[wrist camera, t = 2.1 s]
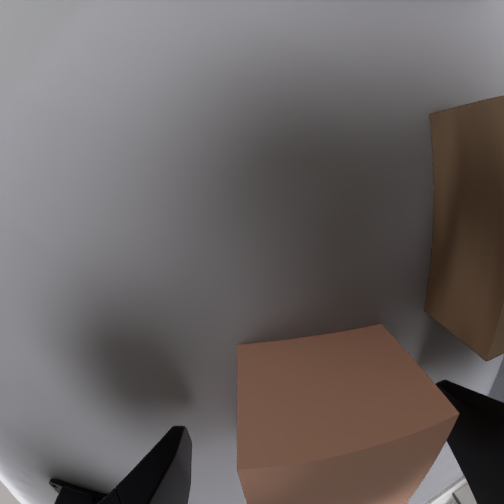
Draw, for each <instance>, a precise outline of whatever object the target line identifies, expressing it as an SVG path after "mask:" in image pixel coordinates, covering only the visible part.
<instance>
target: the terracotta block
mask: <svg viewBox="0 0 504 504" xmlns="http://www.w3.org/2000/svg"><path fill="white" fill-rule="evenodd" d="M459 414H460V413H459V412H458V411H457V410H456V409H455V407H454V406H453V405H452V404H451V402H450V401H449V400H448V399H447V398H446V396H445V395H444V394H443V393H442V392H441V391H440V389H439V388H438V387H437V386H436V385H435V383H434V382H433V381H432V380H431V379H430V378H429V376H428V375H427V374H426V373H425V372H424V371H423V370H422V368H421V367H420V366H419V365H418V364H417V363H416V362H415V360H414V359H413V358H412V357H411V356H410V355H409V354H408V353H407V351H406V350H405V349H404V348H403V347H402V346H401V345H400V344H399V342H398V341H397V340H396V339H395V338H394V337H393V336H392V335H391V334H390V333H389V331H388V330H387V329H386V328H385V327H384V326H383V325H382V324H378V325H373V326H368V327H363V328H358V329H352V330H346V331H341V332H335V333H329V334H322V335H316V336H309V337H302V338H295V339H287V340H279V341H270V342H261V343H251V344H240V345H238V367H237V471H238V475H239V478H240V482H241V485H242V489H243V492H244V495H245V499H246V502H247V504H406V503H407V502H408V501H409V499H410V498H411V497H412V495H413V494H414V492H415V491H416V490H417V488H418V487H419V485H420V484H421V482H422V481H423V479H424V478H425V476H426V474H427V473H428V471H429V470H430V468H431V466H432V465H433V463H434V461H435V460H436V458H437V456H438V455H439V453H440V451H441V449H442V447H443V446H444V444H445V442H446V440H447V438H448V436H449V434H450V432H451V430H452V428H453V426H454V424H455V422H456V420H457V418H458V416H459Z"/></svg>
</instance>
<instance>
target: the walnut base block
mask: <svg viewBox="0 0 504 504" xmlns="http://www.w3.org/2000/svg"><path fill="white" fill-rule="evenodd" d="M429 118H430V127H431V138H432V151H433V170H434V219H433V238H432V252H431V262H430V271H429V280H428V287H427V294H426V301H425V307H424V311H425V312H426V313H427V314H429V315H430V316H431V317H432V318H434V319H435V320H436V321H437V322H439V323H440V324H441V325H442V326H444V327H445V328H446V329H447V330H449V331H450V332H451V333H452V334H454V335H455V336H456V337H457V338H458V339H460V340H461V341H462V342H463V343H464V344H466V345H467V346H468V347H469V348H470V349H472V350H473V351H474V352H475V353H476V354H478V355H479V356H480V357H481V358H482V359H483V360H485V361H489V360H491V359H493V358H495V357H497V356H499V355H502V354H504V96H500V97H495V98H491V99H486V100H482V101H478V102H474V103H470V104H466V105H462V106H458V107H455V108H451V109H447V110H444V111H440V112H437V113H433V114H430V115H429Z"/></svg>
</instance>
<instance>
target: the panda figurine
mask: <svg viewBox="0 0 504 504" xmlns="http://www.w3.org/2000/svg"><path fill="white" fill-rule="evenodd" d="M427 504H477V502H476V500H475V498H474V496H473V493H472V491H471V489H470V487H469V485H468V483H467V480H466V478H465V476H464V477H462V478H461V479H459V480H458V481H456V482H455V483H454V484H452V485H451V486H449V487H448V488H447V489H445V490H444V491H442V492H441V493H440V494H438V495H437V496H436V497H434V498H433V499H432V500H430V501H429V502H428V503H427Z"/></svg>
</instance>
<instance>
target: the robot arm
mask: <svg viewBox="0 0 504 504" xmlns="http://www.w3.org/2000/svg"><path fill="white" fill-rule="evenodd" d="M435 385H436V386H437V387H438V388H439V389H440V391H441V392H442V393H443V394H444V395H445V396H446V398H447V399H448V400H449V401H450V402H451V404H452V405H453V406H454V407H455V409H456V410H457V411H458V412H459V413H460V414H459V416H458V418H457V420H456V422H455V424H454V426H453V428H452V430H451V432H450V434H449V436H448V438H447V442H448V444H449V446H450V448H451V450H452V452H453V454H454V456H455V458H456V460H457V462H458V464H459V466H460V468H461V470H462V472H463V474H464V476H465V478H466V480H467V483H468V485H469V487H470V489H471V491H472V493H473V496H474V498H475V500H476V502H477V504H504V402H501V401H498V400H496V399H493V398H490V397H488V396H485V395H483V394H480V393H477V392H475V391H472V390H470V389H467V388H465V387H462V386H460V385H457V384H455V383H452V382H450V381H447V380H442V381H440V382H437V383H436V384H435ZM191 460H192V442H191V439H190V436H189V433H188V431H187V428H186V427H185V426H173V427H172V428H171V429H170V430H169V431H168V432H167V433H166V434H165V436H164V437H163V438H162V439H161V440H160V441H159V442H158V443H157V444H156V445H155V446H154V448H153V449H152V450H151V451H150V452H149V453H148V454H147V455H146V456H145V457H144V458H143V459H142V460H141V461H140V462H139V464H138V465H137V466H136V467H135V468H134V469H133V470H132V471H131V472H130V473H129V474H128V475H127V476H126V477H125V478H124V479H123V480H122V481H121V482H120V483H119V484H118V485H117V486H116V488H114V489H113V490H112V491H111V492H110V493H109V494H108V495H103V494H99V493H95V492H91V491H88V490H84V489H81V488H78V487H75V486H71V485H68V484H65V483H63V482H60V481H57V480H54V479H50V481H49V484H50V485H51V486H52V487H53V488H54V489H55V490H56V491H57V492H58V493H59V494H58V496H57V499H56V501H55V503H54V504H188V498H189V492H190V485H191Z"/></svg>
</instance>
